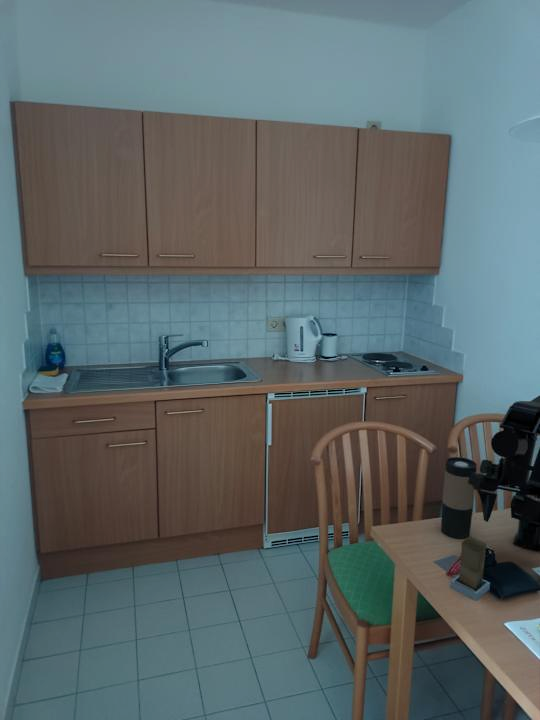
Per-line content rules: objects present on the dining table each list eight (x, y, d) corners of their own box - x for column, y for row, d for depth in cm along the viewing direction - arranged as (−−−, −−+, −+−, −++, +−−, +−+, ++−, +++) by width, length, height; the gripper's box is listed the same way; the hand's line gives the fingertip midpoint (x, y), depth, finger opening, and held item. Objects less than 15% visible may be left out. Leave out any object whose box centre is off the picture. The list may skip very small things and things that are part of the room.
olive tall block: (466, 581, 118) (470, 536, 116) (481, 588, 115) (486, 543, 113) (457, 587, 116) (461, 542, 113) (473, 595, 113) (478, 549, 111)
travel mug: (434, 528, 142) (439, 458, 138) (458, 524, 144) (464, 455, 140) (451, 542, 134) (458, 469, 131) (476, 538, 137) (483, 466, 133)
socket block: (463, 578, 120) (464, 569, 119) (489, 590, 115) (490, 581, 115) (450, 588, 116) (450, 579, 115) (475, 602, 111) (476, 593, 111)
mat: (454, 556, 129) (454, 554, 128) (477, 571, 122) (477, 569, 122) (432, 563, 125) (432, 561, 125) (455, 579, 119) (455, 577, 119)
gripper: (532, 458, 129) (519, 519, 129) (463, 443, 127) (449, 507, 127) (563, 468, 118) (549, 536, 118) (488, 453, 116) (473, 522, 116)
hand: (504, 524), depth 120 cm, fingers open, 9 cm apart
